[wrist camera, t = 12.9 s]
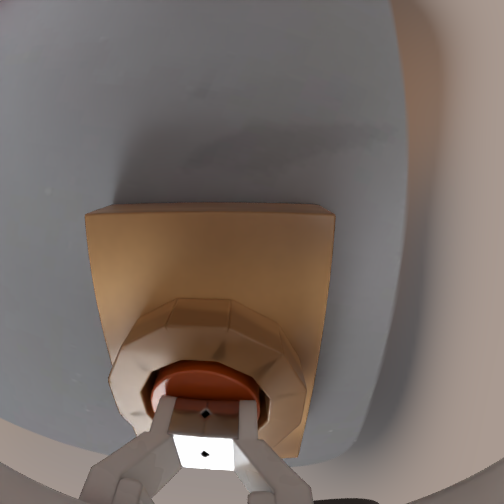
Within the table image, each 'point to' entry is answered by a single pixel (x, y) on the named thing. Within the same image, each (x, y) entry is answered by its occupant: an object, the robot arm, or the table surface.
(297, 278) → the button block
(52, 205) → the table surface
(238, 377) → the push button
